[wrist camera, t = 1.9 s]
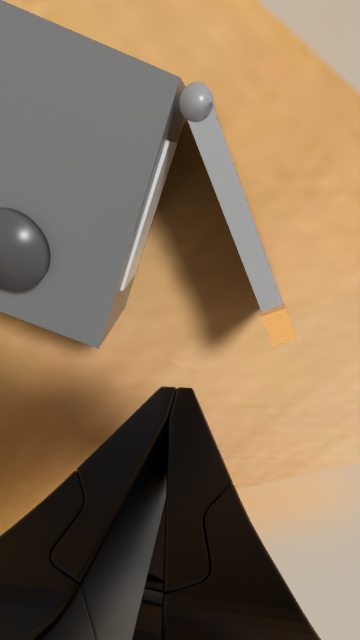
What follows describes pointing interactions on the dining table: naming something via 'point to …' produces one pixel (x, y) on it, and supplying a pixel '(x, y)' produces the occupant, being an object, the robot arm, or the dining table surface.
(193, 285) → the dining table surface
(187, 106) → the side door
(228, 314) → the dining table surface
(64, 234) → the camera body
